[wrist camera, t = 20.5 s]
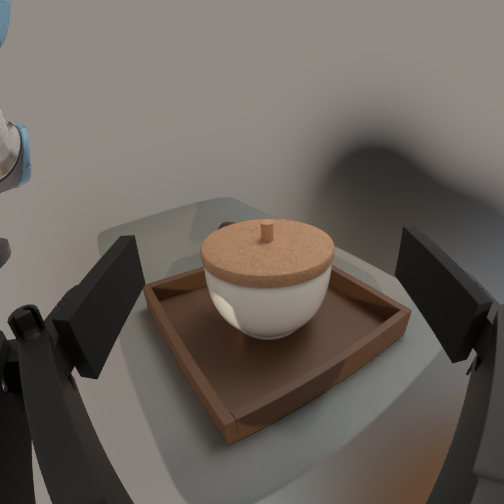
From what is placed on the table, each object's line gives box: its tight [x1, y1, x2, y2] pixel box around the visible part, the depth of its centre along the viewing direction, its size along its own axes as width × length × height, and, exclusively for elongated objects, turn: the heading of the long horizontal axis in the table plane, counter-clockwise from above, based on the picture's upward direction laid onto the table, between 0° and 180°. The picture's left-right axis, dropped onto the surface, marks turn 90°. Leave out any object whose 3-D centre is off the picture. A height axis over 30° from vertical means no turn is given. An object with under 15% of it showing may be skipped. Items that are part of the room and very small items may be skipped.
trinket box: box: [200, 219, 334, 340], centre depth 26 cm, size 11×11×9 cm
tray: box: [143, 265, 412, 445], centre depth 28 cm, size 19×19×3 cm
